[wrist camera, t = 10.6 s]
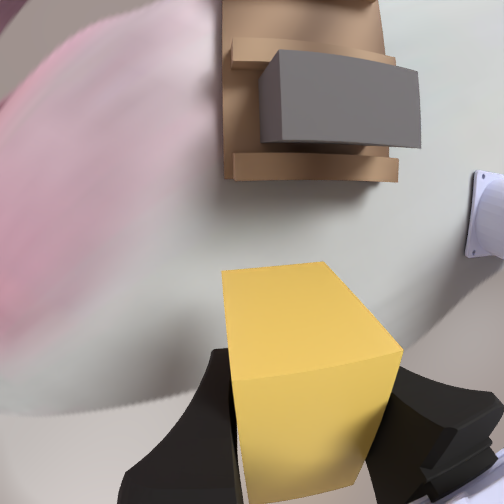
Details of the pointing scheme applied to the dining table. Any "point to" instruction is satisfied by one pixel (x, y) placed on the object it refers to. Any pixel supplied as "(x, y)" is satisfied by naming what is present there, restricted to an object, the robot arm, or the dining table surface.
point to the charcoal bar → (338, 101)
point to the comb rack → (255, 62)
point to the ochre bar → (304, 378)
